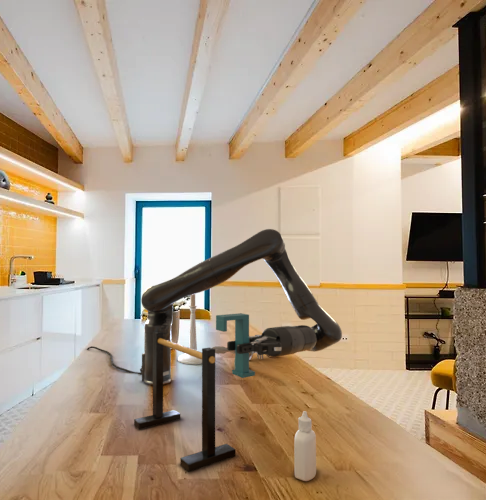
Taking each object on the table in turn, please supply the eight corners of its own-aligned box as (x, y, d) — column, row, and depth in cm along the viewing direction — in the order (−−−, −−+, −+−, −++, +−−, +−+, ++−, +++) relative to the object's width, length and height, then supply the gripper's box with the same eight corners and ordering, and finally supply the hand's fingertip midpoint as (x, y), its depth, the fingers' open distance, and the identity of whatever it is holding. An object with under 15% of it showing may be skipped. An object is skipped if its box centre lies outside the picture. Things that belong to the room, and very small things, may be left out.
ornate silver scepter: (205, 341, 158) (215, 337, 152) (273, 344, 172) (284, 340, 165) (207, 361, 155) (217, 358, 148) (276, 361, 168) (287, 358, 162)
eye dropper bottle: (286, 471, 74) (285, 409, 74) (309, 466, 76) (309, 405, 76) (301, 483, 70) (300, 418, 70) (325, 477, 72) (324, 414, 72)
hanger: (244, 371, 96) (244, 312, 96) (255, 375, 93) (255, 314, 93) (214, 377, 91) (214, 315, 92) (224, 381, 88) (225, 317, 88)
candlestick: (171, 361, 157) (172, 289, 158) (188, 355, 168) (188, 287, 169) (198, 365, 150) (198, 290, 151) (213, 359, 161) (213, 288, 162)
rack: (174, 415, 101) (174, 329, 102) (235, 456, 80) (235, 347, 80) (134, 425, 95) (134, 333, 96) (188, 472, 73) (188, 353, 74)
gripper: (263, 322, 107) (215, 327, 98) (304, 330, 95) (252, 337, 86) (263, 349, 106) (215, 356, 98) (304, 360, 94) (252, 370, 86)
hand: (233, 347), depth 92 cm, fingers closed on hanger, 3 cm apart
